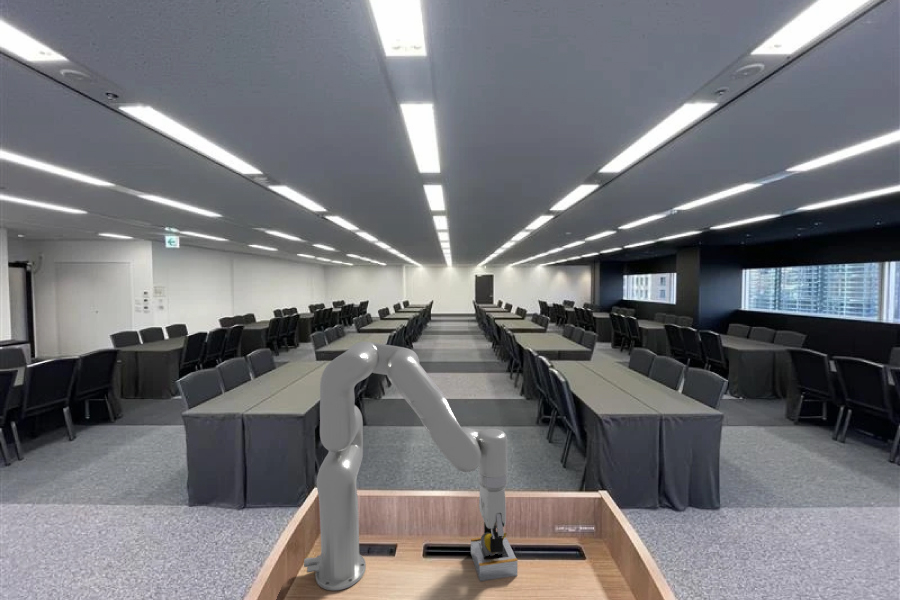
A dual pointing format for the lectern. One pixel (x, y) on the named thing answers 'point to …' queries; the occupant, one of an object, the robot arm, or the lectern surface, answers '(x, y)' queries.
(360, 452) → the robot arm
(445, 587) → the lectern surface
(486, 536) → the drill bit
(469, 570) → the lectern surface
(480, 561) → the block
